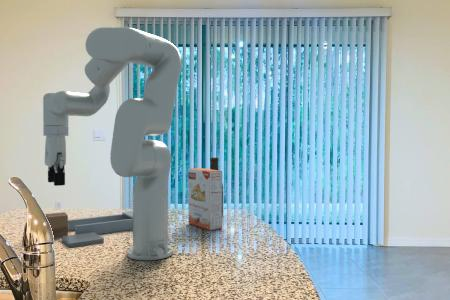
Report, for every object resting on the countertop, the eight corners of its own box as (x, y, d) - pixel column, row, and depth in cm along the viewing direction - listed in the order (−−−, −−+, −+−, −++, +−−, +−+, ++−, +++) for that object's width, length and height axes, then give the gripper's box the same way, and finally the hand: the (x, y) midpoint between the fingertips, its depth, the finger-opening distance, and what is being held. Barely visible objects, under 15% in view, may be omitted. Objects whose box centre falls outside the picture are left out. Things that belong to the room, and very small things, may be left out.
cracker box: (187, 224, 145) (187, 168, 144) (200, 222, 148) (200, 167, 148) (208, 231, 134) (208, 170, 133) (222, 228, 137) (222, 170, 137)
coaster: (103, 242, 119) (103, 238, 119) (69, 247, 113) (69, 243, 113) (94, 235, 127) (94, 231, 127) (62, 240, 122) (62, 236, 122)
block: (67, 236, 126) (67, 215, 126) (47, 239, 123) (47, 217, 123) (64, 232, 132) (64, 212, 131) (45, 234, 128) (45, 213, 128)
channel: (148, 227, 140) (147, 215, 140) (75, 237, 125) (75, 224, 125) (136, 221, 149) (136, 210, 149) (67, 230, 135) (67, 218, 134)
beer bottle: (202, 214, 163) (202, 157, 162) (219, 212, 166) (219, 157, 166) (209, 217, 156) (209, 158, 155) (226, 216, 159) (226, 157, 159)
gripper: (38, 131, 131) (39, 181, 132) (48, 131, 117) (49, 187, 118) (62, 131, 136) (62, 180, 136) (74, 131, 121) (74, 186, 122)
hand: (56, 183), depth 127 cm, fingers open, 9 cm apart
